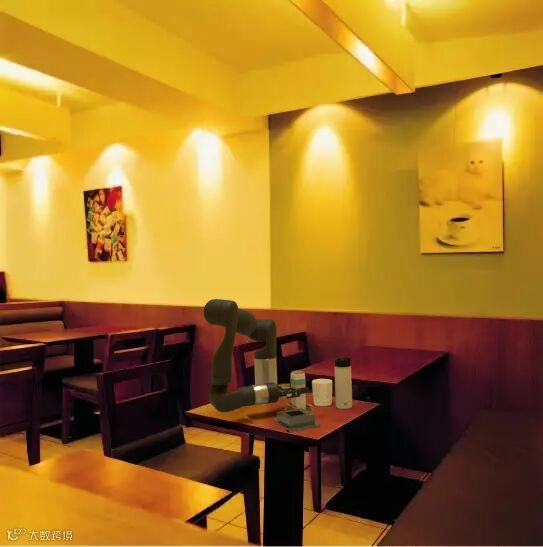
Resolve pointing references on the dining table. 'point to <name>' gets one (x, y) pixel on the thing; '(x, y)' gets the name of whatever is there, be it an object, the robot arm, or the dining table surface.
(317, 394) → the white cup
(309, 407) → the wooden square tray
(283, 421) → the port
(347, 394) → the travel mug
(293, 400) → the plug
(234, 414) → the dining table surface
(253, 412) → the dining table surface
